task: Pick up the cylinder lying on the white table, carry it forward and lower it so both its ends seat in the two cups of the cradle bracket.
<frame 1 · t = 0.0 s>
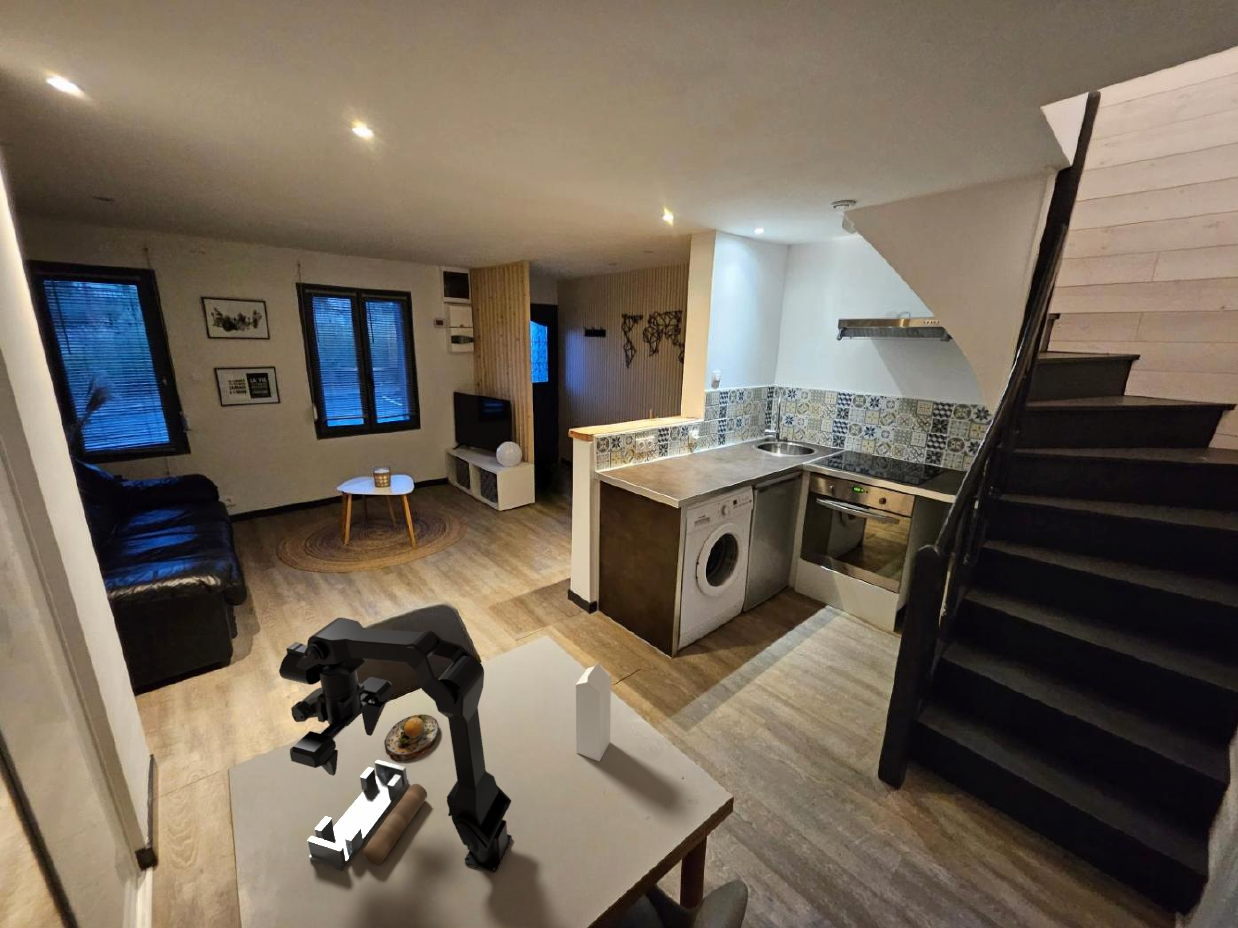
hand: (351, 753, 91), 15 cm above the table, fingers open, 9 cm apart
cradle: (363, 818, 94), on the table
cylinder: (398, 829, 92), on the table
milk: (593, 747, 111), on the table
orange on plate: (413, 740, 113), on the table
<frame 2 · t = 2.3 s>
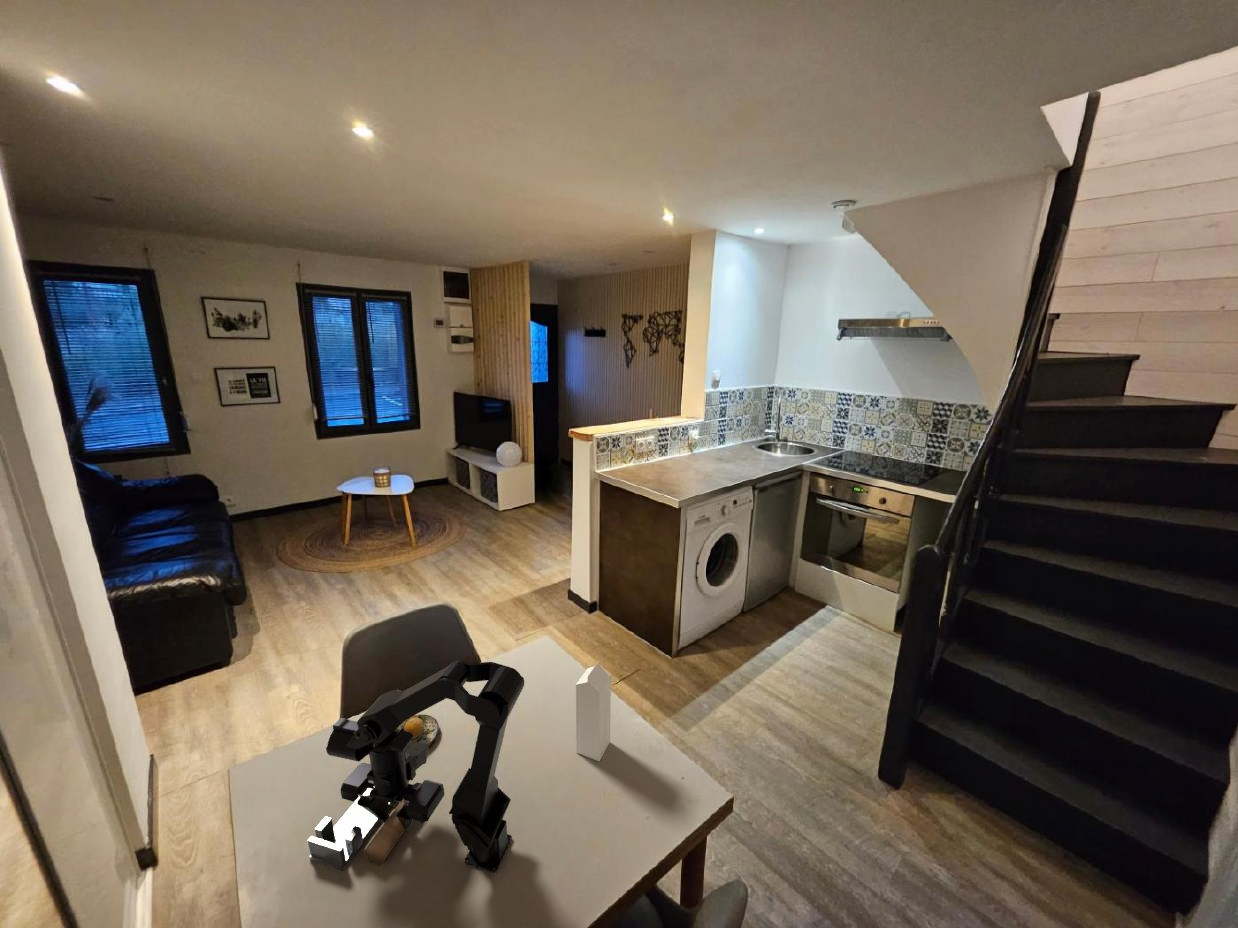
hand: (397, 824, 92), 1 cm above the table, fingers open, 5 cm apart
cylinder: (397, 829, 92), on the table, tilted 10°
everything else where it was.
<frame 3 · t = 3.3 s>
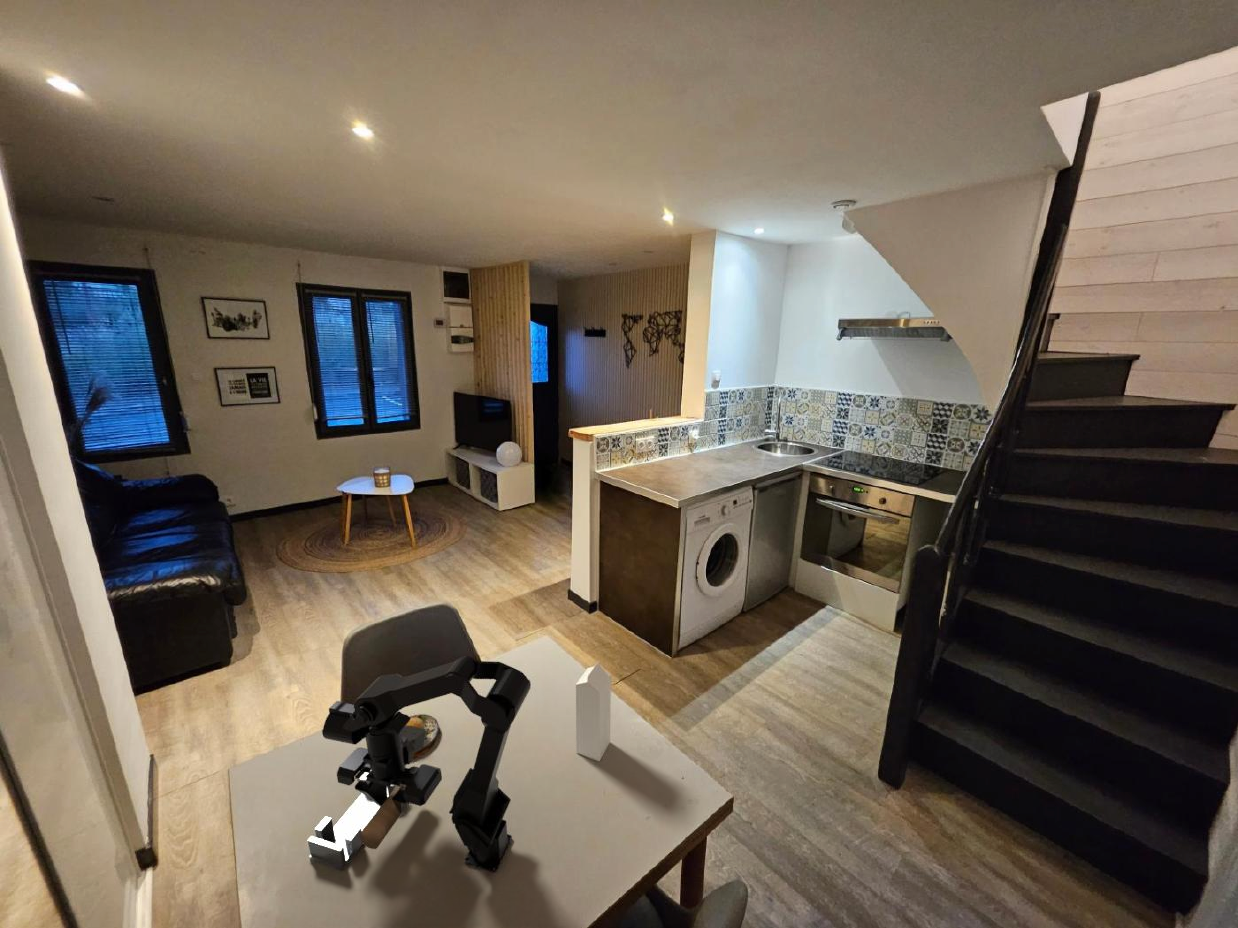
hand: (394, 808, 91), 5 cm above the table, fingers closed on cylinder, 4 cm apart
cylinder: (395, 813, 91), point 4 cm above the table, touching gripper
everything else where it was.
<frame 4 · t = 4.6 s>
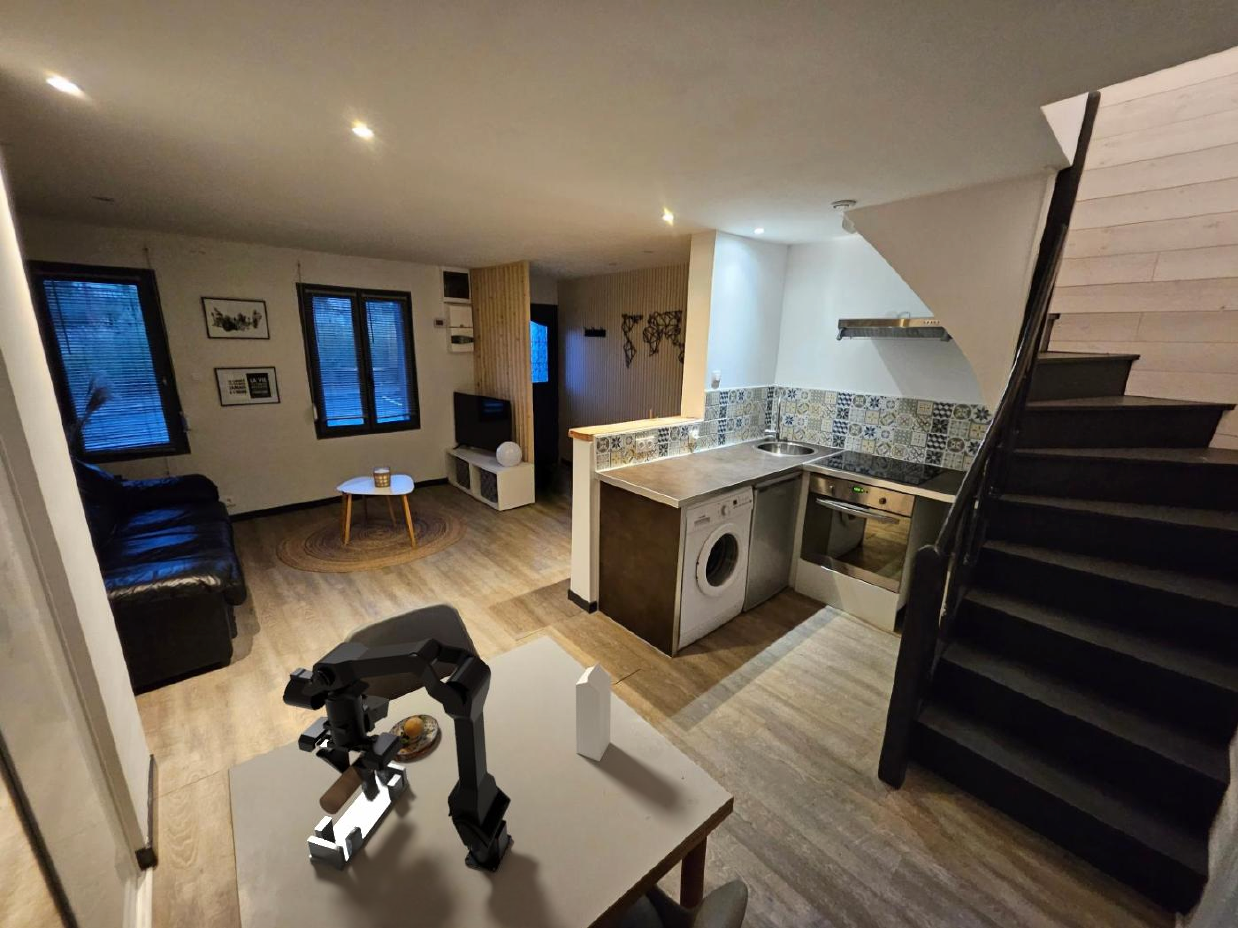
hand: (356, 777, 91), 10 cm above the table, fingers closed on cylinder, 4 cm apart
cylinder: (357, 781, 92), point 9 cm above the table, touching gripper
everything else where it was.
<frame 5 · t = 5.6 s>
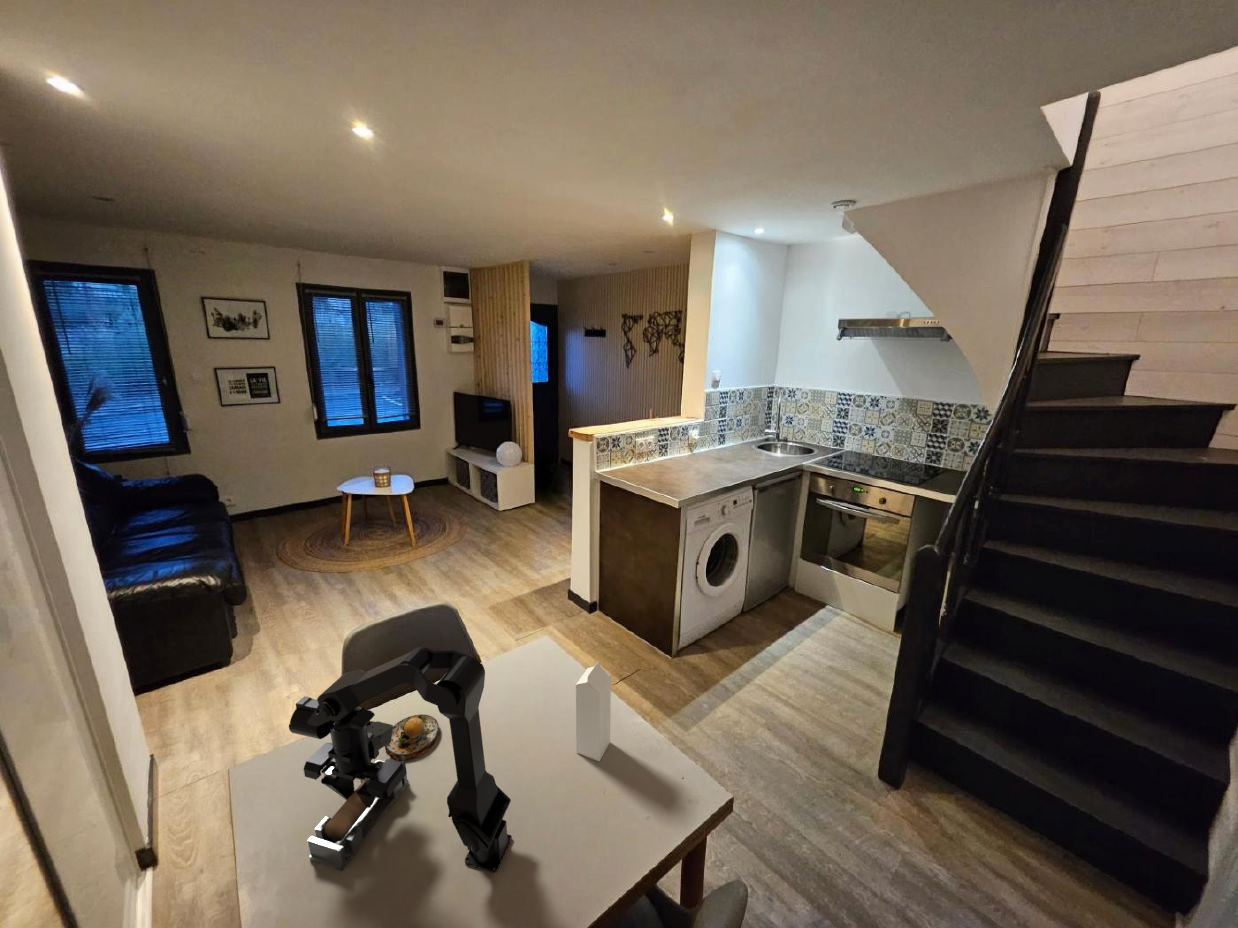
hand: (361, 802, 93), 4 cm above the table, fingers closed on cylinder, 4 cm apart
cylinder: (361, 807, 93), point 3 cm above the table, touching gripper
everything else where it was.
when the fingers open (3 cm above the table, at t = 6.4 s): cylinder drops 1 cm, resting on cradle.
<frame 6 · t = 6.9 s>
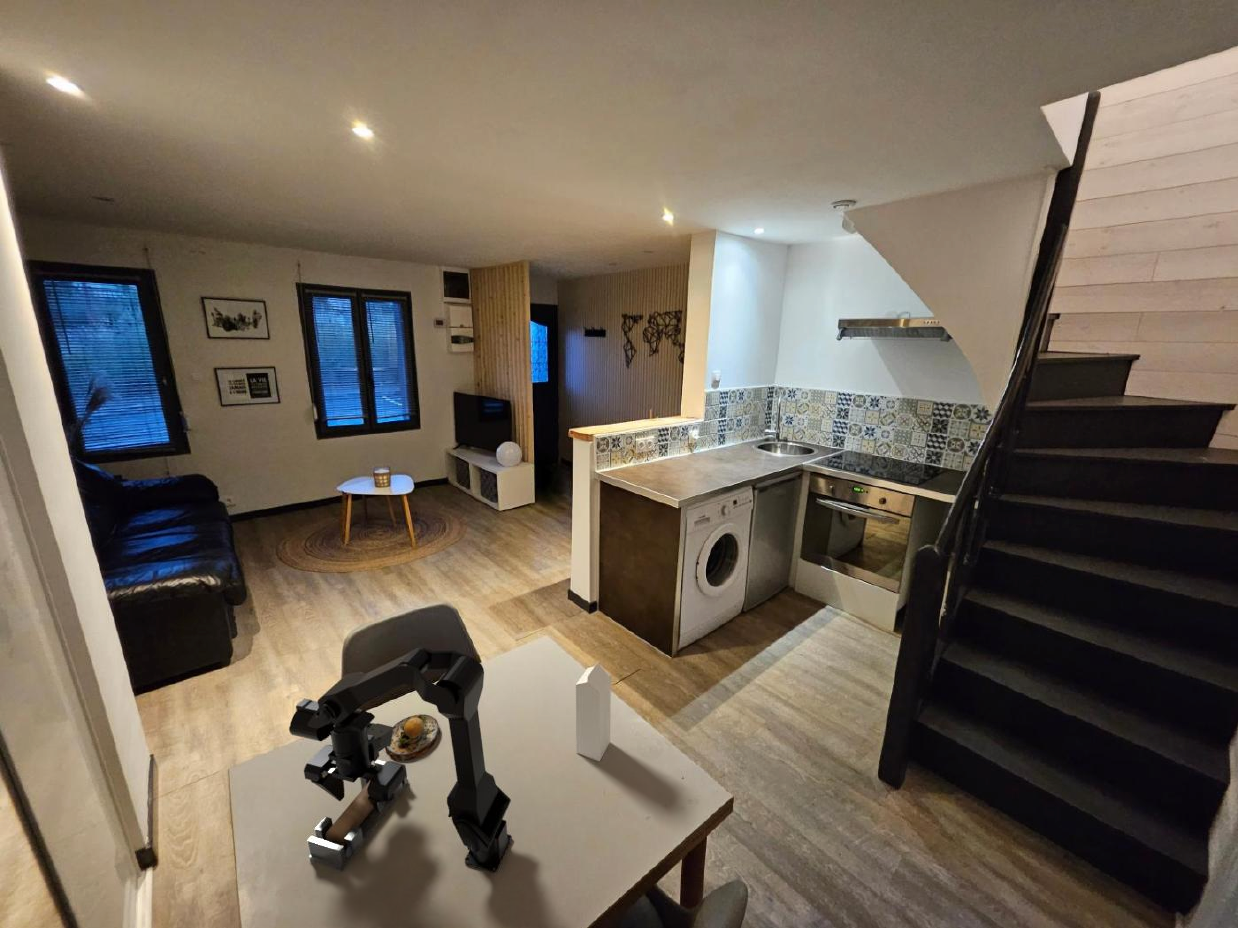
hand: (361, 804, 93), 3 cm above the table, fingers open, 9 cm apart
cylinder: (362, 814, 94), point 1 cm above the table, touching cradle
everything else where it was.
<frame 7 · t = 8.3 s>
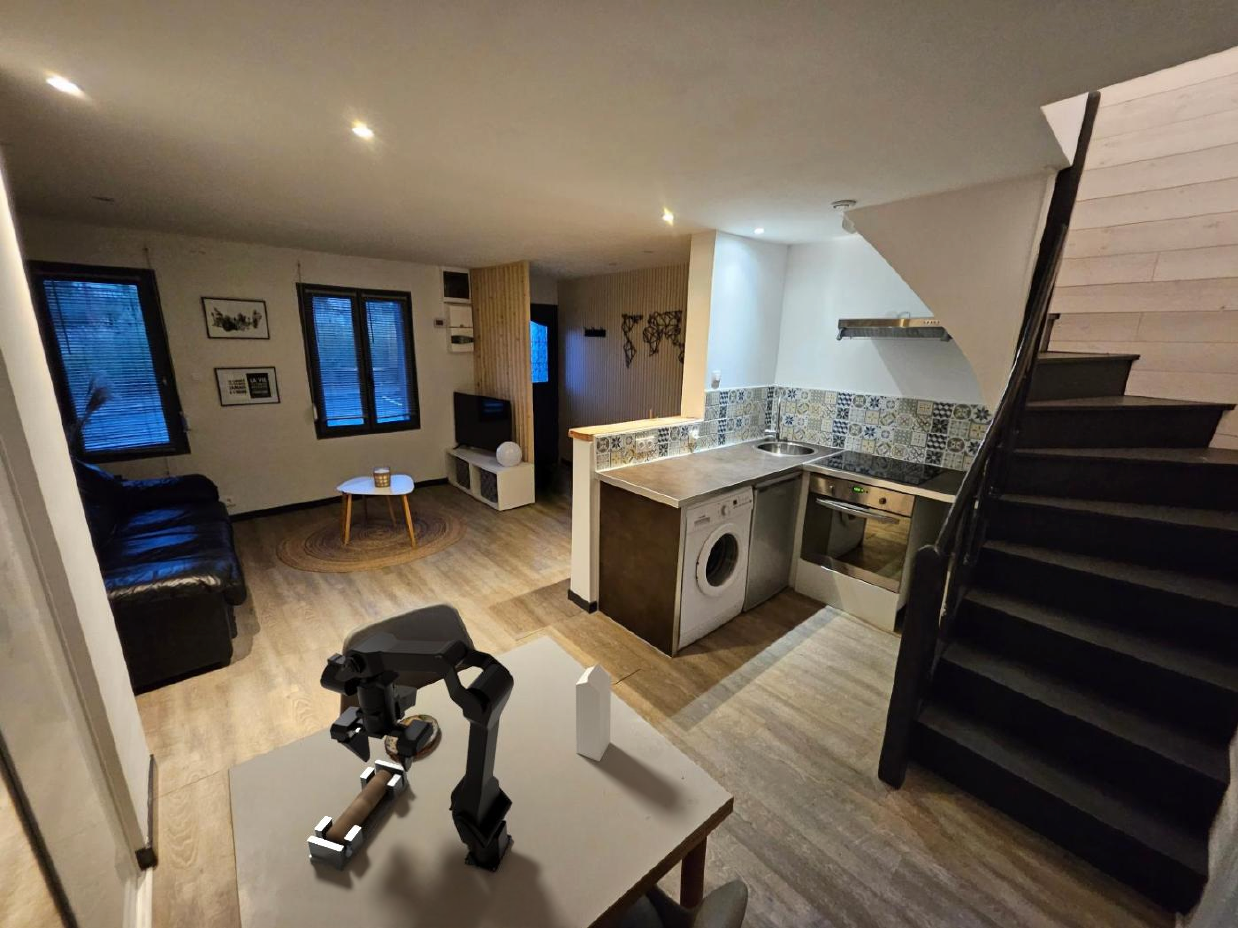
hand: (387, 764, 93), 12 cm above the table, fingers open, 9 cm apart
nothing on the table moved.
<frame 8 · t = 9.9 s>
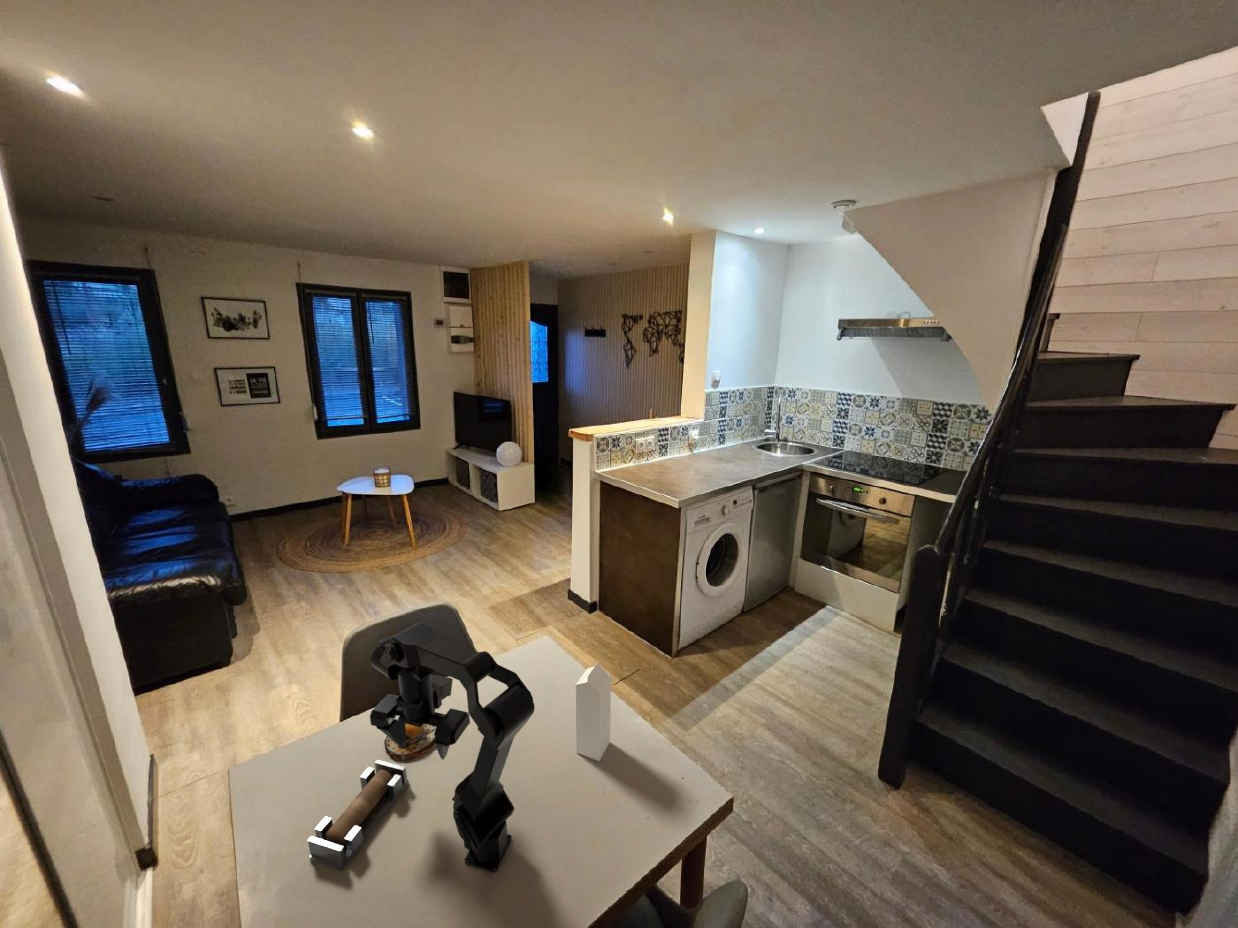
hand: (423, 752, 95), 12 cm above the table, fingers open, 9 cm apart
nothing on the table moved.
at the end: cylinder 0.0 cm off-centre on the cradle, point 1.0 cm above the cradle's base; the gripper is holding nothing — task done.
